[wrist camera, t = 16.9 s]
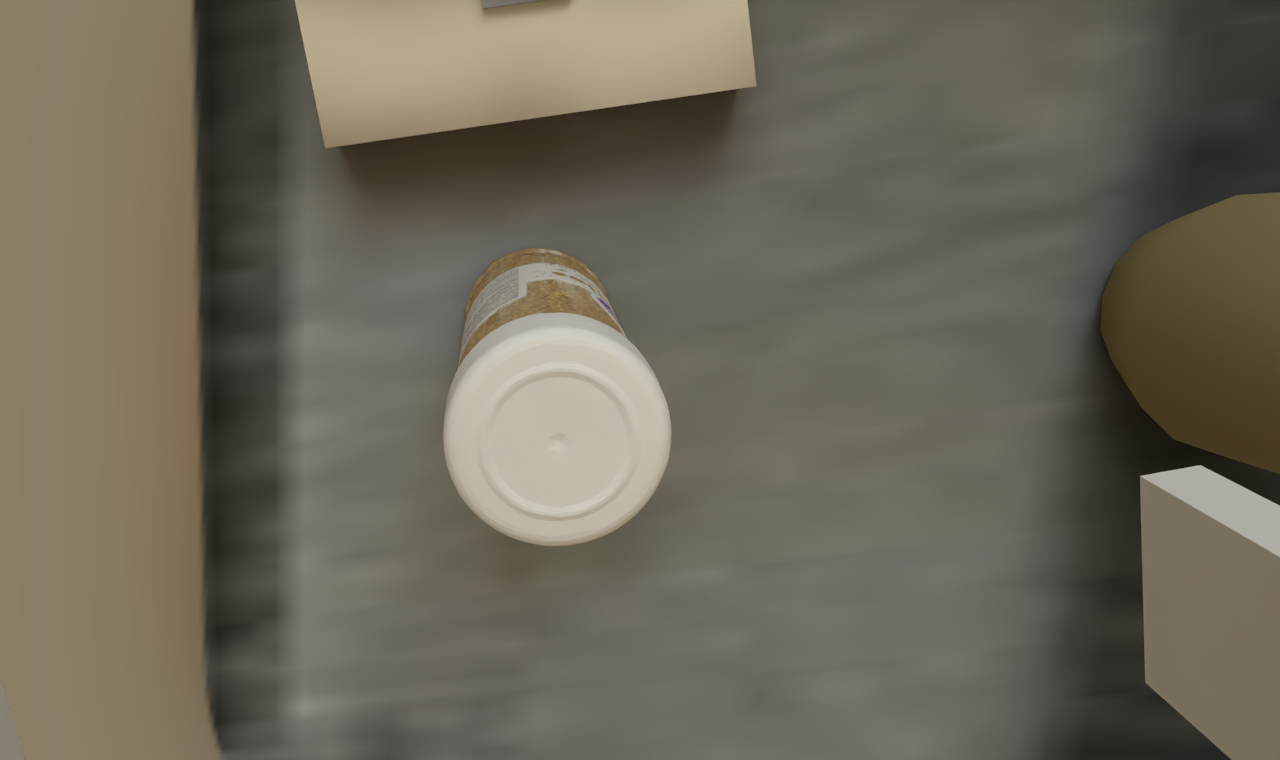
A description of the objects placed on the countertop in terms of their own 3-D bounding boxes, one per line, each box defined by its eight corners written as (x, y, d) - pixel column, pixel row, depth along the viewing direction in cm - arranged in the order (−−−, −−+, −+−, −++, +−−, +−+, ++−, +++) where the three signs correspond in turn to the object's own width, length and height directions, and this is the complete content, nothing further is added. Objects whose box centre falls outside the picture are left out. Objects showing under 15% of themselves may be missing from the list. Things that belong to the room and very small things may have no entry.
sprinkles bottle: (640, 317, 35) (722, 441, 22) (537, 418, 36) (559, 598, 23) (535, 212, 34) (559, 279, 21) (430, 318, 34) (390, 447, 21)
